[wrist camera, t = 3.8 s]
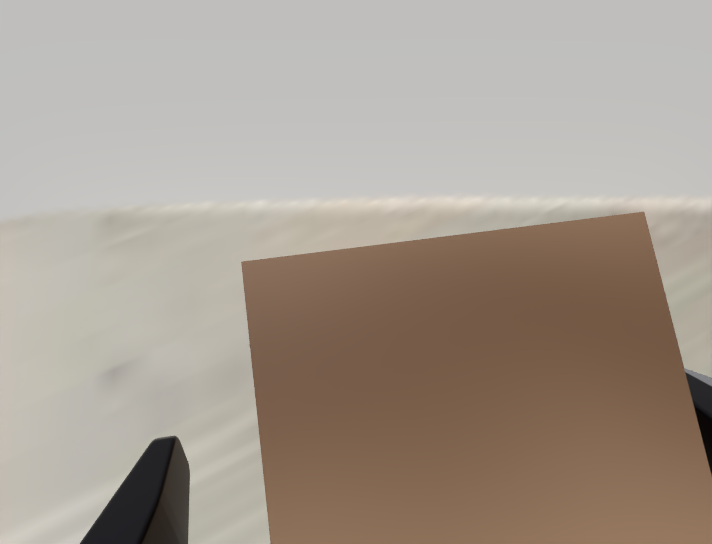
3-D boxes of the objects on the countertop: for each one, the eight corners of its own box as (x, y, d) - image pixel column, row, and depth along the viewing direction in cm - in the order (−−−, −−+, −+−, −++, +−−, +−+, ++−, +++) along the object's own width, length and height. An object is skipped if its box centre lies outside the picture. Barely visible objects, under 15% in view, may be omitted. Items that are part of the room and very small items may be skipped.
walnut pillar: (462, 466, 17) (757, 654, 6) (313, 491, 17) (292, 751, 5) (437, 317, 18) (643, 212, 7) (294, 337, 18) (241, 261, 6)
